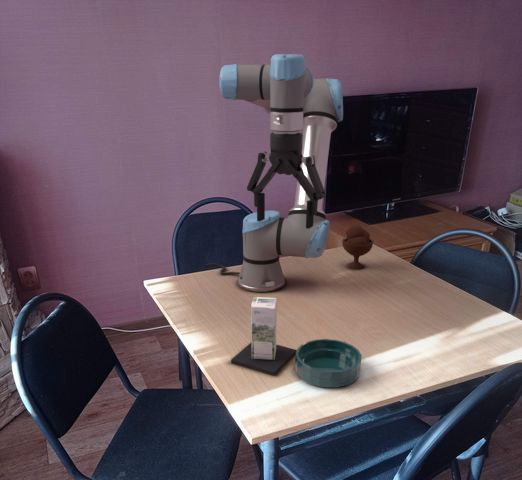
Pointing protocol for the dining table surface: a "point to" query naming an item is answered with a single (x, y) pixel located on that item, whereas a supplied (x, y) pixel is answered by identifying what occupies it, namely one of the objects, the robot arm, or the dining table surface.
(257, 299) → the syrup box
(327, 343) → the bowl
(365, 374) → the dining table surface
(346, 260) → the dining table surface
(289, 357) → the mat
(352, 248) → the ice cream bowl
